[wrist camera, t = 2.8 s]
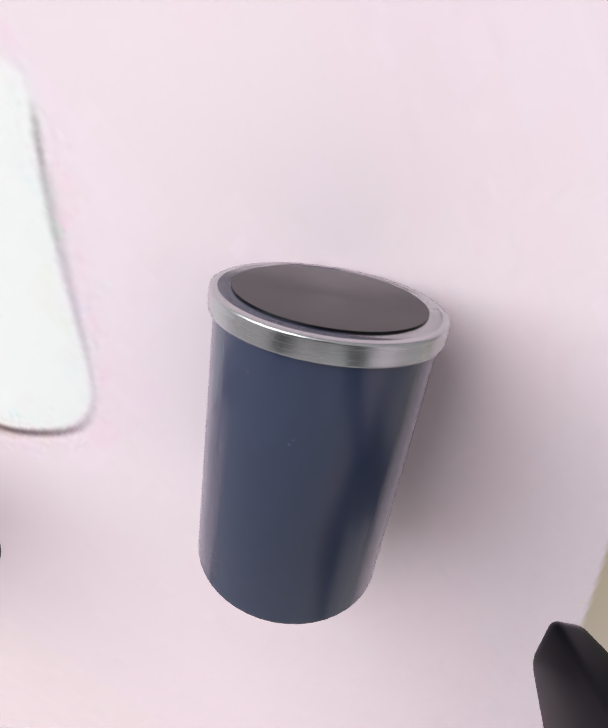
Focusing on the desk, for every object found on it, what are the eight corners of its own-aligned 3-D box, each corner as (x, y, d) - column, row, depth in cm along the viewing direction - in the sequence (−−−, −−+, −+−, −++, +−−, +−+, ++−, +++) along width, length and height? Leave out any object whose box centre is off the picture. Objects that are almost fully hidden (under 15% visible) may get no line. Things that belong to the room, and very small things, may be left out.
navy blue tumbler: (375, 499, 19) (433, 281, 15) (381, 649, 13) (476, 364, 10) (222, 470, 19) (241, 249, 15) (164, 605, 14) (170, 310, 10)
